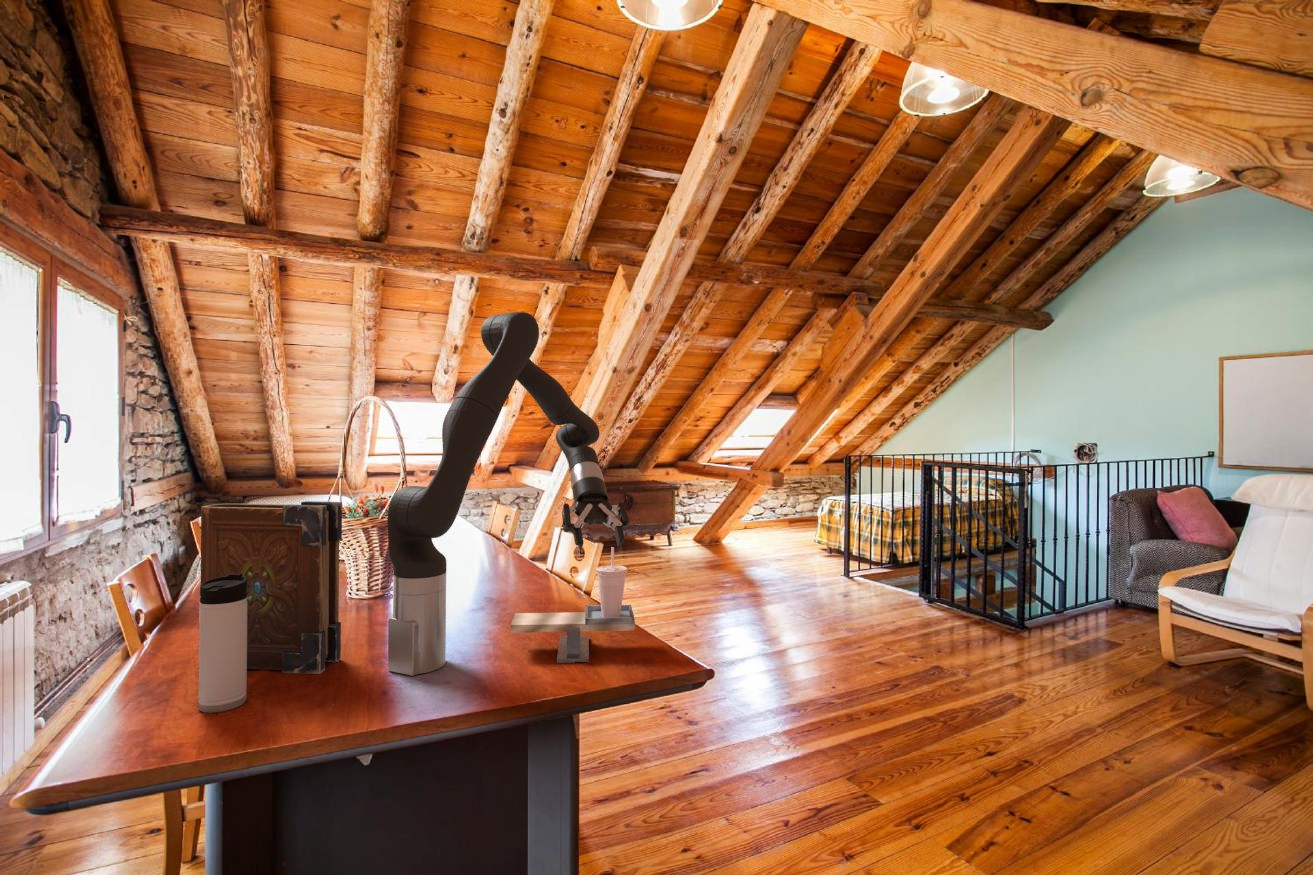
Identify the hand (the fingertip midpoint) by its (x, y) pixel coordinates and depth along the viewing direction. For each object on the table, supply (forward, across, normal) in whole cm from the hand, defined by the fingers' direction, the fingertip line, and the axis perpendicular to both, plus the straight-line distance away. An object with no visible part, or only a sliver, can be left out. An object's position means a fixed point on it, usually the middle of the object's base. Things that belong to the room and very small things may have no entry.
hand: (601, 544), depth 134 cm
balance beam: (+14, -7, +7) cm, 17 cm away
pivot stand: (+18, -7, +10) cm, 22 cm away
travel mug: (+23, -65, +5) cm, 69 cm away
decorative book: (+11, -62, +18) cm, 65 cm away
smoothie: (+14, 0, +5) cm, 15 cm away
